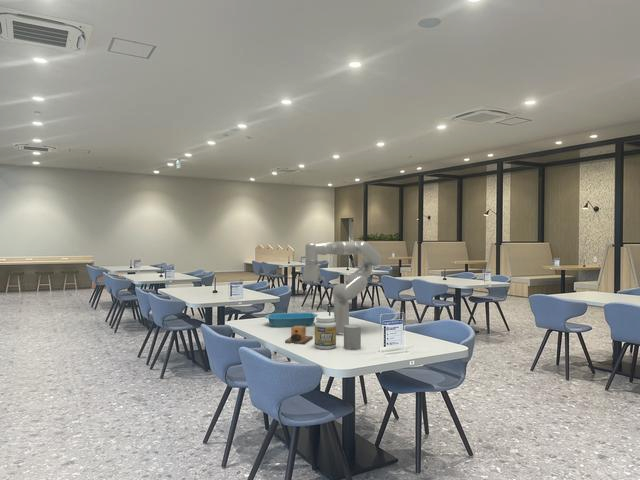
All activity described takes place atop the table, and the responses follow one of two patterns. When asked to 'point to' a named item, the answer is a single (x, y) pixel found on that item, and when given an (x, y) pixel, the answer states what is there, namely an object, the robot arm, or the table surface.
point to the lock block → (299, 331)
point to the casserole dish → (291, 319)
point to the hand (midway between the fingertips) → (311, 290)
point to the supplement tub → (325, 332)
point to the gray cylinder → (352, 337)
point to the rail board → (298, 339)
